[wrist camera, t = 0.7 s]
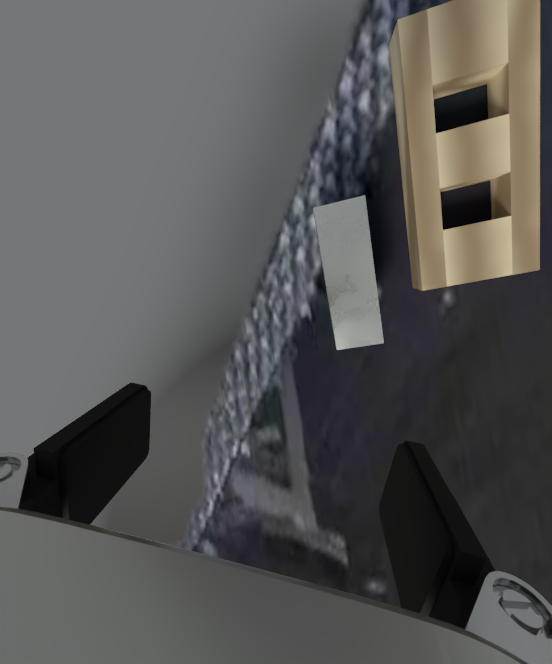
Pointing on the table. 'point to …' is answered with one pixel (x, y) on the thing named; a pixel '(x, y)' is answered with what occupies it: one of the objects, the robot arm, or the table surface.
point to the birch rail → (470, 136)
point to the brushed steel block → (349, 272)
